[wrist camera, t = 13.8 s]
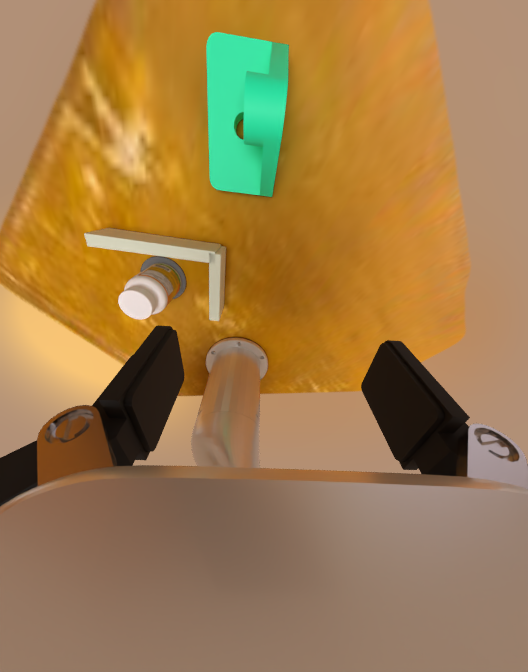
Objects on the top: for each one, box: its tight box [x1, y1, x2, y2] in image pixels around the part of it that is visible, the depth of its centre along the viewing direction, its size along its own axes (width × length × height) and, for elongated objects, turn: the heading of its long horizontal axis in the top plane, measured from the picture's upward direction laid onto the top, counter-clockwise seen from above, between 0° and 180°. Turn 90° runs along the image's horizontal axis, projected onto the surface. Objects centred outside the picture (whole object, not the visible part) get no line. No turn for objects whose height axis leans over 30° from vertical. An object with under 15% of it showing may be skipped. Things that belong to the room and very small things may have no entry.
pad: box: [141, 256, 186, 299], centre depth 35 cm, size 7×7×1 cm
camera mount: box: [206, 32, 289, 197], centre depth 21 cm, size 12×8×10 cm, turn 174°
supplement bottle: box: [118, 263, 181, 319], centre depth 30 cm, size 5×5×10 cm
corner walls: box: [84, 228, 226, 321], centre depth 32 cm, size 10×17×5 cm, turn 82°
